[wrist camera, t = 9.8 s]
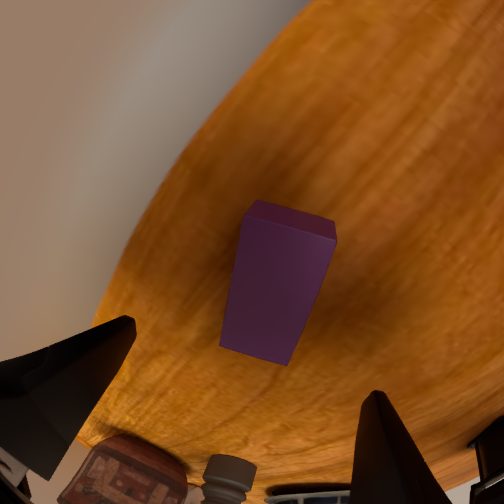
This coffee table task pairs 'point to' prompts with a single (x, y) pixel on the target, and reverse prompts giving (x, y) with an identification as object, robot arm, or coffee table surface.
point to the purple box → (275, 280)
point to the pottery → (127, 475)
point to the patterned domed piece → (311, 498)
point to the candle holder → (227, 480)
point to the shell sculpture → (194, 495)
